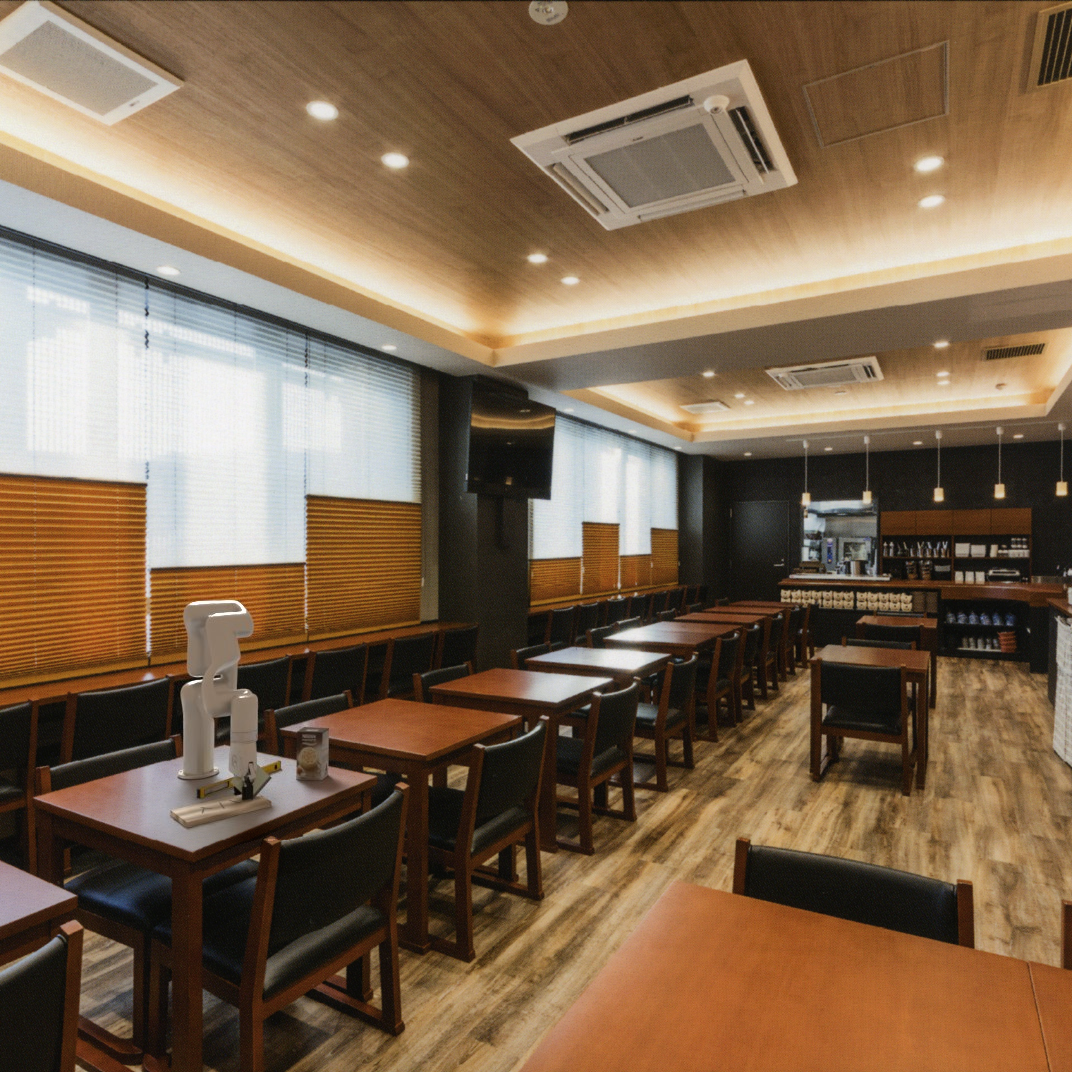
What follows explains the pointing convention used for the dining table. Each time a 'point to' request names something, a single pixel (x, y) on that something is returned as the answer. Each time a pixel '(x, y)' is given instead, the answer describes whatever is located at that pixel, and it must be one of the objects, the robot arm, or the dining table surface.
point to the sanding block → (259, 782)
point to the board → (218, 809)
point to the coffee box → (312, 753)
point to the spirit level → (226, 783)
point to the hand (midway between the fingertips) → (243, 796)
